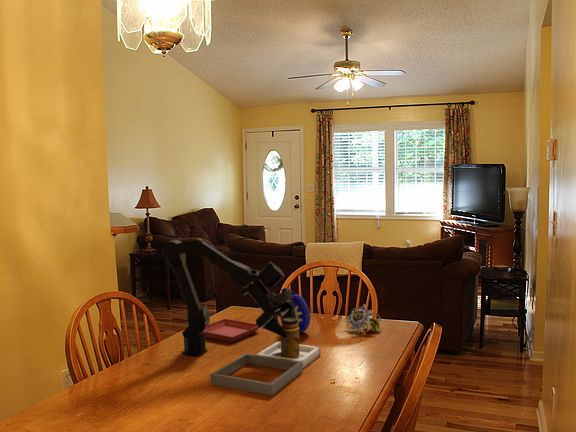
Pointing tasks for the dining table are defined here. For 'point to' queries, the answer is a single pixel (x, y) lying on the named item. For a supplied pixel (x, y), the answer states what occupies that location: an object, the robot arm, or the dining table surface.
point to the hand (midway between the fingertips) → (292, 333)
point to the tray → (307, 351)
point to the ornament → (301, 312)
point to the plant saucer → (229, 330)
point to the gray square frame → (270, 389)
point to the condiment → (290, 339)
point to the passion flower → (362, 319)
